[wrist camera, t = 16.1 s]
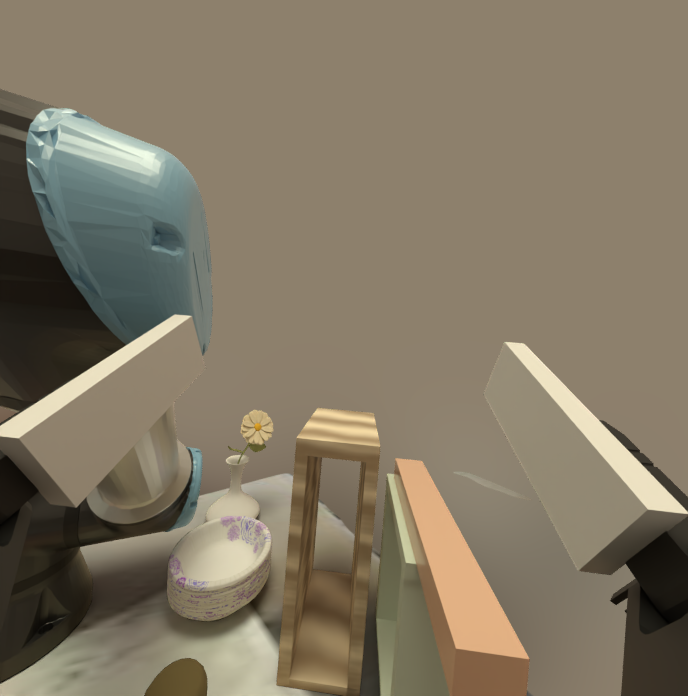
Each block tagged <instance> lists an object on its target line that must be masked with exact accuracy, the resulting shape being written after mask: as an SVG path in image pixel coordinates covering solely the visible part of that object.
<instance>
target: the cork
mask: <svg viewBox="0 0 688 696" xmlns="http://www.w3.org/2000/svg"><path fill="white" fill-rule="evenodd" d="M144 696H207V676H206V672H205V670H204V667H203V666H202V665H201V664H200V663H199V662H198V661H197V660H195V659H191V658H185V659H180V660H178V661H175V662H173V663H171V664H170V665H168V666H167V667H165V668H164V669H163V670H162V671H161V672H160V673H159V674H158V675H157V676H156V678H155V679H154V680H153V682H152V683H151V685H150V686H149V688H148V689H147V690H146V693H145V695H144Z"/></svg>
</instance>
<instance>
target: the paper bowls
mask: <svg viewBox="0 0 688 696" xmlns="http://www.w3.org/2000/svg"><path fill="white" fill-rule="evenodd" d="M271 548H272V538H271V534H270V531H269V529H268V528H267V527H266V526H265V525H264V524H263V523H262V522H260V521H259V520H257V519H254V518H251V517H246V516H226V517H221V518H217V519H214V520H211V521H208V522H206V523H204V524H202V525H200V526H198V527H196V528H194V529H193V530H191V531H190V532H189V533H187V534H186V535H185V536H184V537H183V538H182V539H181V540H180V541H179V542H178V543H177V545H176V546H175V548H174V549H173V551H172V553H171V555H170V557H169V562H168V576H167V599H168V602H169V605H170V607H171V608H172V609H173V610H174V611H175V612H176V613H177V614H179V615H181V616H182V617H185V618H189V619H193V620H201V621H213V620H218V619H221V618H224V617H226V616H229V615H230V614H232V613H234V612H235V611H237V610H238V609H240V608H242V607H244V606H245V605H246V604H248V603H249V602H250V601H251V600H252V599H254V598H255V597H256V596H257V595H258V593H259V592H260V591H261V589H262V588H263V586H264V584H265V582H266V580H267V578H268V575H269V571H270V564H271Z"/></svg>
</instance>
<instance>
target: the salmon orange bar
mask: <svg viewBox="0 0 688 696" xmlns="http://www.w3.org/2000/svg"><path fill="white" fill-rule="evenodd" d="M394 480H395V484H396V488H397V492H398V496H399V500H400V504H401V507H402V511H403V515H404V519H405V523H406V527H407V531H408V535H409V538H410V542H411V546H412V550H413V554H414V558H415V562H416V566H417V570H418V573H419V577H420V581H421V585H422V589H423V593H424V597H425V601H426V604H427V608H428V612H429V616H430V620H431V624H432V628H433V632H434V636H435V639H436V643H437V647H438V651H439V655H440V659H441V663H442V667H443V670H444V674H445V678H446V682H447V686H448V690H449V694H450V696H526V694H527V682H528V671H529V670H528V669H529V660H530V659H529V657H528V656H527V654H526V652H525V650H524V648H523V646H522V645H521V643H520V641H519V639H518V637H517V635H516V633H515V632H514V630H513V628H512V626H511V624H510V622H509V620H508V619H507V617H506V615H505V613H504V611H503V609H502V608H501V606H500V604H499V602H498V600H497V598H496V597H495V595H494V593H493V591H492V589H491V587H490V585H489V584H488V582H487V580H486V578H485V576H484V574H483V573H482V571H481V569H480V567H479V565H478V563H477V561H476V560H475V558H474V556H473V554H472V552H471V550H470V549H469V547H468V545H467V543H466V541H465V540H464V538H463V536H462V534H461V532H460V530H459V528H458V527H457V525H456V523H455V521H454V519H453V517H452V516H451V514H450V512H449V510H448V508H447V506H446V505H445V502H444V501H443V499H442V497H441V495H440V493H439V491H438V490H437V488H436V486H435V484H434V482H433V480H432V479H431V477H430V475H429V473H428V471H427V469H426V468H425V466H424V464H423V462H422V461H416V460H407V459H406V460H405V459H397V458H396V459H395V470H394Z"/></svg>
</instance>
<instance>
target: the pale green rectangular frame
mask: <svg viewBox="0 0 688 696" xmlns="http://www.w3.org/2000/svg"><path fill="white" fill-rule="evenodd" d="M375 614H376V632H377V649H378V667H379V684H380V696H450V694H449V690H448V686H447V682H446V678H445V674H444V670H443V667H442V663H441V659H440V655H439V651H438V647H437V643H436V639H435V636H434V632H433V628H432V624H431V620H430V616H429V612H428V608H427V604H426V601H425V597H424V593H423V589H422V585H421V581H420V577H419V573H418V570H417V566H416V562H415V558H414V554H413V550H412V546H411V542H410V538H409V535H408V531H407V527H406V523H405V519H404V515H403V511H402V507H401V504H400V500H399V496H398V492H397V488H396V484H395V480H394V474H387V480H386V495H385V507H384V518H383V530H382V542H381V554H380V566H379V578H378V590H377V601H376V611H375Z"/></svg>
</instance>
